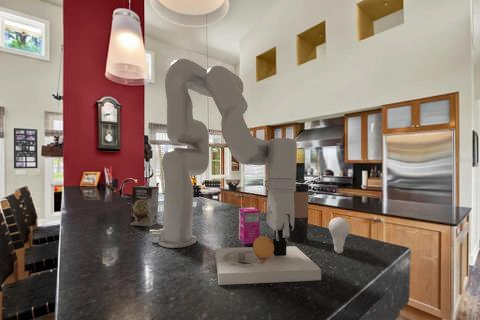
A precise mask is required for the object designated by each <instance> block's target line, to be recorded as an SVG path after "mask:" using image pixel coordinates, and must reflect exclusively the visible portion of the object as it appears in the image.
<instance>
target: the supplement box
mask: <svg viewBox="0 0 480 320" xmlns="http://www.w3.org/2000/svg"><path fill="white" fill-rule="evenodd" d="M260 212H261V210H259V209H257V208H256V207H254V206H253V207H240V208H238V213H239V214H238V241H239V242H240V243H241V244H242V245H243V246H245V247H246V246H253V243H254V241H255V240H256V239H257V238H258V237H260V233H261V231H260V225H261V221H260V220H261V218H260V217H261V215H260V214H261V213H260Z"/></svg>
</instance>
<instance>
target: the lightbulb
mask: <svg viewBox="0 0 480 320" xmlns="http://www.w3.org/2000/svg"><path fill="white" fill-rule="evenodd" d="M328 231H329V232H330V234H331V237H332V241H333V242H332V243H333V247H334V248H333V251H335V253H336V254H341V253H343V252H344V246H345V242H346V238H347V237H348V236H349V233H350V231H351V226H350V223H349V221H347V220H346V219H345V218H344V217H339V216H337V217H334V218H332V219H331V220H330V221H329V223H328Z"/></svg>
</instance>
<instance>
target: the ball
mask: <svg viewBox="0 0 480 320" xmlns="http://www.w3.org/2000/svg"><path fill="white" fill-rule="evenodd" d="M252 247H253V251H254V253H255V254H256V256H258V257H259V258H262V259H266V258H268V257H270V256H271V255H272V254H273V252H274V244H273V239H271V238H270V237H269V236H265V235H262V236H259V237H258V238H257V239H256V240H255V241H254V243H253V245H252Z"/></svg>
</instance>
